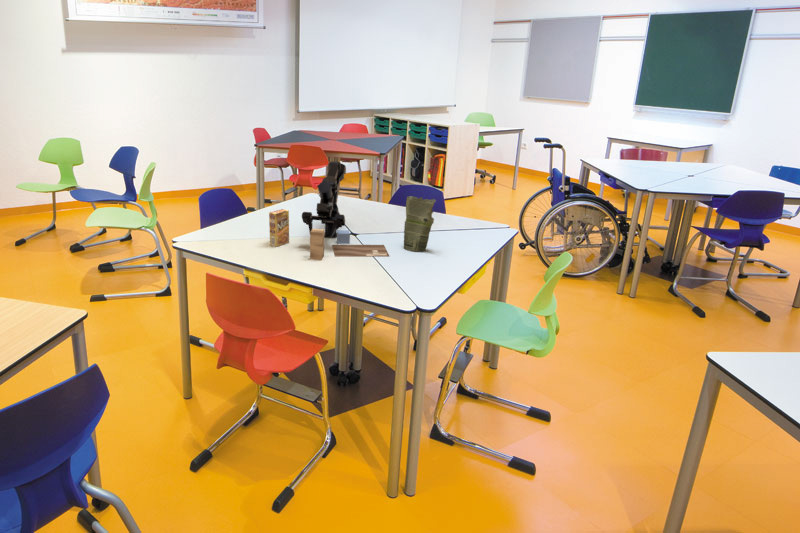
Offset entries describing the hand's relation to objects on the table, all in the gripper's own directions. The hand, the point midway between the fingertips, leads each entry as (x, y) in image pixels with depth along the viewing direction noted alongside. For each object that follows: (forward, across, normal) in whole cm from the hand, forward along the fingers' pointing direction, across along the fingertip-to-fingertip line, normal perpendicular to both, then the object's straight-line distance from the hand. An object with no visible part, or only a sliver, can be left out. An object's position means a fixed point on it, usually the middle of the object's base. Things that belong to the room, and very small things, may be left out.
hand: (320, 235), depth 245 cm
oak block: (+11, 0, 0) cm, 11 cm away
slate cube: (-6, +8, +16) cm, 19 cm away
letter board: (+2, +17, +8) cm, 19 cm away
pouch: (-4, +42, +15) cm, 45 cm away
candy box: (+1, -20, +10) cm, 23 cm away
